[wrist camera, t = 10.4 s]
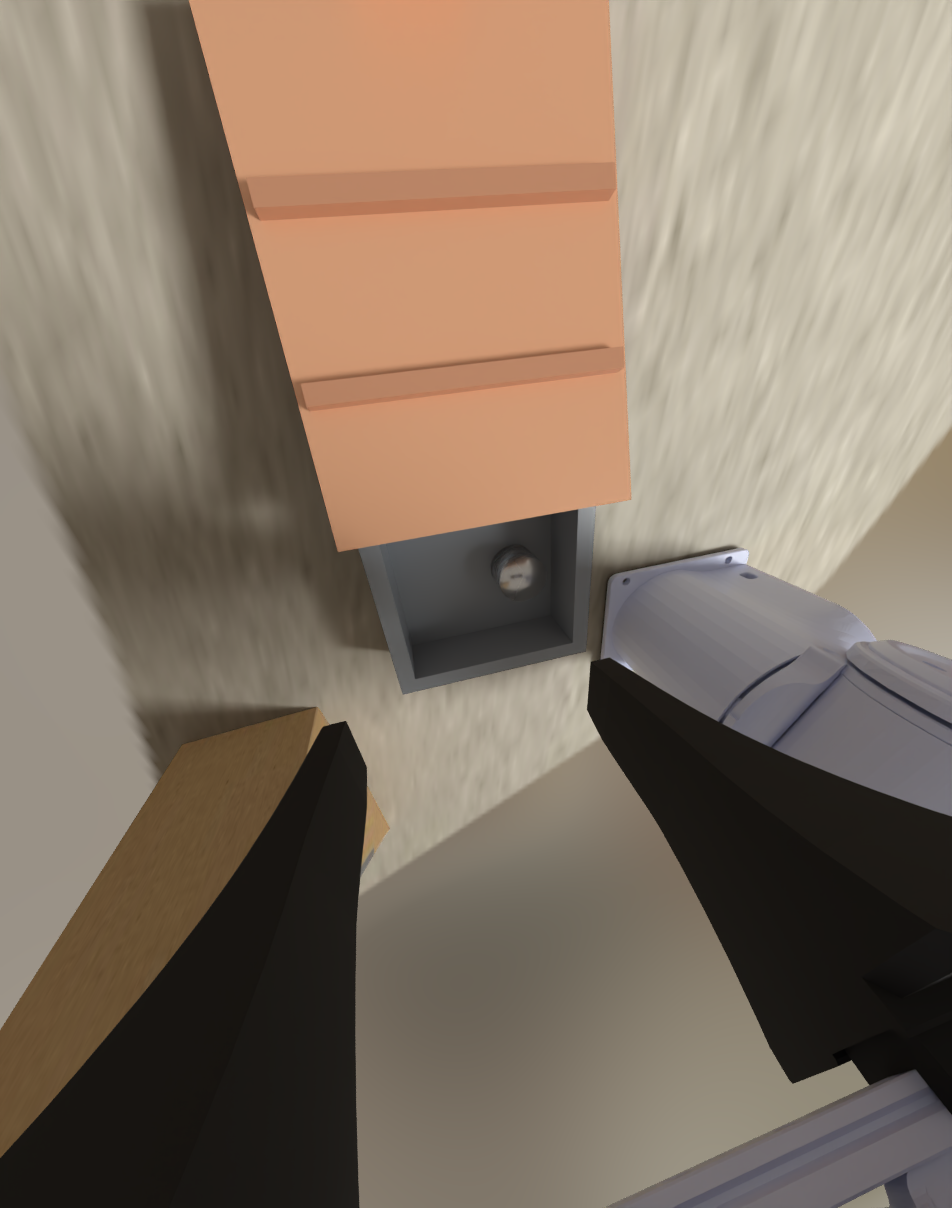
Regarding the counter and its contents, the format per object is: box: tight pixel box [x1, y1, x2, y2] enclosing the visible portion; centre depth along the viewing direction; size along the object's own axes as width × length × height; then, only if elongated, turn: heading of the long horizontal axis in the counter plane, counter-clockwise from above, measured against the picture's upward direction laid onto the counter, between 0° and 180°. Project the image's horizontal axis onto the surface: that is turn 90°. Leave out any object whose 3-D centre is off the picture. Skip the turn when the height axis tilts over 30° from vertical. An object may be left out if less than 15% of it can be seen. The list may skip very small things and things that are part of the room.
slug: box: [491, 545, 546, 601], centre depth 18 cm, size 2×2×2 cm
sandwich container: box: [0, 707, 390, 1158], centre depth 18 cm, size 9×15×15 cm, turn 10°
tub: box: [358, 506, 596, 694], centre depth 16 cm, size 10×13×4 cm
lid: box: [189, 0, 631, 552], centre depth 9 cm, size 11×18×3 cm, turn 7°
